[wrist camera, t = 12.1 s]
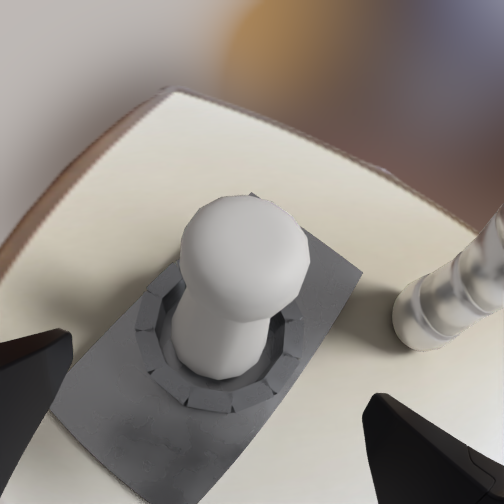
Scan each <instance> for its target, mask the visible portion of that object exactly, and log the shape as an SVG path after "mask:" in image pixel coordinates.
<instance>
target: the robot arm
mask: <svg viewBox="0 0 504 504" xmlns="http://www.w3.org/2000/svg"><path fill="white" fill-rule="evenodd" d="M72 360H73V346H72V335H71V333H70V332H69V331H66V330H63V329H60V328H57V329H53V330H49V331H45V332H42V333H38V334H34V335H30V336H26V337H22V338H18V339H14V340H10V341H6V342H2V343H0V497H1V495H2V493H3V491H4V489H5V487H6V485H7V483H8V481H9V479H10V477H11V475H12V473H13V471H14V469H15V467H16V466H17V464H18V462H19V460H20V458H21V456H22V454H23V453H24V451H25V449H26V447H27V445H28V444H29V442H30V440H31V438H32V437H33V435H34V433H35V431H36V430H37V428H38V426H39V424H40V423H41V421H42V419H43V418H44V416H45V414H46V413H47V411H48V409H49V408H50V406H51V404H52V403H53V401H54V399H55V397H56V395H57V393H58V390H59V388H60V386H61V384H62V382H63V380H64V378H65V376H66V374H67V371H68V369H69V367H70V365H71V363H72ZM362 423H363V429H364V436H365V443H366V451H367V457H368V462H369V466H370V470H371V475H372V479H373V483H374V487H375V491H376V496H377V500H378V504H504V466H503V465H501V464H499V463H497V462H495V461H493V460H492V459H490V458H488V457H486V456H484V455H482V454H481V453H479V452H477V451H476V450H474V449H472V448H471V447H469V446H467V445H466V444H464V443H463V442H461V441H459V440H458V439H456V438H455V437H453V436H451V435H450V434H448V433H447V432H445V431H444V430H442V429H440V428H439V427H437V426H436V425H434V424H433V423H431V422H429V421H428V420H426V419H425V418H423V417H422V416H420V415H419V414H417V413H416V412H414V411H413V410H411V409H410V408H408V407H407V406H405V405H404V404H402V403H401V402H399V401H398V400H396V399H395V398H393V397H392V396H390V395H389V394H386V393H375V394H374V395H373V396H372V397H371V399H370V401H369V403H368V405H367V407H366V408H365V410H364V412H363V415H362Z"/></svg>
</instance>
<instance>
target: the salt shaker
mask: <svg viewBox="0 0 504 504" xmlns="http://www.w3.org/2000/svg"><path fill="white" fill-rule="evenodd" d="M309 264H310V255H309V247H308V240H307V237H306V235H305V234H304V232H303V231H302V229H301V228H300V226H299V225H298V223H297V222H296V220H295V219H294V217H293V216H291V215H290V214H289V213H287V212H286V211H285V210H283V209H282V208H280V207H279V206H278V205H276V204H275V203H273V202H272V201H268V200H264V199H260V198H257V197H253V196H249V195H240V196H226V197H220V198H218V199H216V200H214V201H213V202H211V203H209V204H207V205H205V206H203V207H201V208H199V210H198V211H197V212H196V214H195V215H194V216H193V218H192V219H191V220H190V222H189V223H188V224H187V226H186V227H185V229H184V232H183V235H182V239H181V251H180V263H179V265H180V270H181V274H182V276H183V279H184V281H185V283H186V286H187V287H186V289H185V291H184V293H183V296H182V298H181V300H180V302H179V304H178V306H177V308H176V311H175V313H174V315H173V317H172V321H171V342H172V344H173V346H174V349H175V351H176V354H177V356H178V359H179V360H180V361H181V362H182V363H183V364H185V365H186V366H187V367H188V368H190V369H191V370H192V371H193V372H195V373H196V374H198V375H201V376H205V377H208V378H212V379H216V380H222V379H227V378H231V377H236V376H240V375H242V374H243V373H245V372H246V371H247V370H248V369H250V368H251V367H252V366H254V365H255V364H256V363H257V362H258V360H259V358H260V356H261V354H262V351H263V349H264V347H265V345H266V340H267V335H268V329H269V323H270V318H271V317H272V316H274V315H275V314H276V313H278V312H279V311H280V310H282V309H283V308H284V307H285V306H287V305H288V304H289V303H291V302H292V301H293V300H294V299H295V298H296V297H297V296H298V294H299V291H300V289H301V286H302V283H303V281H304V278H305V275H306V273H307V270H308V267H309Z"/></svg>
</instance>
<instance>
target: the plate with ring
mask: <svg viewBox="0 0 504 504" xmlns="http://www.w3.org/2000/svg"><path fill="white" fill-rule="evenodd" d="M249 196H253V197H257V198H259V197H258V196H256V195H255V194H253V193H252V192H251V193H250V194H249ZM260 199H261V198H260ZM300 228H301V229H302V231H303V232H304V234H305V235H306V237H307V240H308V247H309V255H310V264H309V267H308V270H307V273H306V275H305V278H304V281H303V283H302V286H301V289H300V291H299V294H298V296H297V297H296V298H295V299H294V300H293V301H292V302H291V303H289V304H288V305H287V306H285V307H284V308H283V309H282V310H280V311H279V312H278V313H276V314H275V315H274V316H272V317H271V318H270V323H269V329H268V335H267V340H266V345H265V347H264V349H263V351H262V354H261V356H260V358H259V360H258V362H257V363H256V364H255V365H254V366H252V367H251V368H250V369H248V370H247V371H246V372H245V373H243V374H242V375H240V376H236V377H231V378H227V379H222V380H216V379H212V378H208V377H205V376H201V375H198V374H196V373H195V372H193V371H192V370H191V369H190V368H188V367H187V366H186V365H185V364H183V363H182V362H181V361H180V360H179V359H178V356H177V354H176V351H175V349H174V346H173V344H172V342H171V321H172V317H173V315H174V313H175V311H176V308H177V306H178V304H179V302H180V300H181V298H182V296H183V293H184V291H185V289H186V287H187V286H186V283H185V281H184V279H183V276H182V274H181V270H180V265H179V263H180V259H179V260H176V263H175V264H174V263H173V262H172V263H171V264H170V265H169V266H168V267H167V268H166V269H165V270H164V271H163V272H162V273H161V274H160V275H159V276H158V277H157V278H156V279H155V280H154V281H153V282H152V283H151V284H150V285H149V286H148V287H147V288H146V289H147V291H146V292H144V293H143V295H142V296H141V297H140V298H139V299H138V300H137V301H136V302H135V303H134V304H133V305H132V306H131V307H130V308H129V309H128V310H127V311H126V312H125V313H124V314H123V315H122V316H121V317H120V318H119V319H118V320H117V321H116V322H115V323H114V324H113V325H112V326H111V327H110V328H109V329H108V331H107V332H106V333H105V334H104V335H103V336H102V337H101V338H100V339H99V340H98V341H97V342H96V343H95V344H94V345H93V346H92V347H91V348H90V349H89V350H88V351H87V352H86V353H85V355H84V356H83V357H82V358H81V359H80V360H79V361H78V362H77V363H76V364H75V365H74V366H73V367H72V368H71V369H70V371H69V372H68V373H67V374H66V376H65V378H64V380H63V382H62V384H61V386H60V388H59V390H58V393H57V395H56V397H55V399H54V401H53V403H52V404H51V406H50V408H49V409H50V410H51V411H52V412H53V414H54V415H55V416H56V417H57V418H58V419H59V420H60V422H61V423H62V424H63V425H64V426H65V427H66V428H67V429H68V430H69V431H70V432H71V433H72V435H73V436H74V437H75V438H76V439H77V440H78V441H79V442H80V443H81V444H82V445H83V446H84V447H85V448H86V449H87V450H88V451H89V452H90V453H91V454H92V455H93V456H94V457H96V458H97V459H98V460H99V461H100V462H101V463H102V464H103V465H104V466H105V467H106V468H108V469H109V470H110V471H111V472H112V473H113V474H114V475H116V476H117V477H118V478H119V479H120V480H121V481H123V482H124V483H125V484H126V485H128V486H129V487H130V488H131V489H133V490H134V491H135V492H136V493H138V494H139V495H140V496H142V497H143V498H144V499H145V500H147V501H148V502H150V503H151V504H197V503H198V502H199V501H200V500H201V499H202V498H203V497H204V496H205V495H206V494H207V492H208V491H209V490H210V489H211V488H212V487H213V486H214V485H215V484H216V482H217V481H218V480H219V479H220V478H221V477H222V476H223V474H224V473H225V472H226V471H227V470H228V469H229V467H230V466H231V465H232V464H233V463H234V462H235V460H236V459H237V458H238V457H239V455H240V454H241V453H242V452H243V451H244V449H245V448H246V447H247V446H248V444H249V443H250V442H251V441H252V439H253V438H254V437H255V436H256V434H257V433H258V432H259V430H260V429H261V428H262V427H263V425H264V424H265V423H266V421H267V420H268V419H269V417H270V416H271V415H272V413H273V412H274V411H275V409H276V408H277V407H278V405H279V404H280V403H281V401H282V400H283V398H284V397H285V396H286V394H287V393H288V391H289V390H290V389H291V387H292V386H293V384H294V383H295V381H296V380H297V379H298V377H299V376H300V374H301V373H302V371H303V370H304V368H305V367H306V365H307V364H308V362H309V361H310V359H311V358H312V356H313V355H314V353H315V352H316V350H317V349H318V347H319V346H320V344H321V342H322V341H323V339H324V338H325V336H326V335H327V333H328V331H329V330H330V328H331V327H332V325H333V323H334V322H335V320H336V318H337V317H338V315H339V314H340V312H341V310H342V309H343V307H344V305H345V303H346V302H347V300H348V298H349V297H350V295H351V293H352V291H353V290H354V288H355V286H356V284H357V283H358V281H359V279H360V277H361V276H362V274H363V272H362V271H360V270H359V269H358V268H357V267H355V266H354V265H353V264H351V263H350V262H349V261H347V260H346V259H345V258H343V257H342V256H340V255H339V254H338V253H336V252H335V251H334V250H332V249H331V248H330V247H328V246H327V245H326V244H324V243H323V242H321V241H320V240H319V239H317V238H316V237H315V236H313V235H312V234H310V233H309V232H308V231H306V230H305V229H303V228H302V227H301V226H300Z"/></svg>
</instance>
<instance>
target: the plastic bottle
mask: <svg viewBox="0 0 504 504" xmlns="http://www.w3.org/2000/svg"><path fill="white" fill-rule="evenodd" d="M503 308H504V204H503V205H502V206H501V207H500V208H499V210H498V211H497V212H496V213H495V215H494V216H493V217H492V219H491V220H490V221H489V222H488V224H487V225H486V226H485V227H484V229H483V230H482V231H481V232H480V234H479V235H478V236H477V237H476V238H475V239H474V240H473V241H472V242H471V243H470V244H469V245H468V246H467V247H466V248H465V249H464V250H463V251H462V252H460V253H459V254H458V255H457V256H456V257H455V258H454V259H453V260H451V261H450V262H448V263H447V264H445V265H444V266H442V267H440V268H439V269H437V270H436V271H434V272H433V273H431V274H428V275H425V276H423V277H421V278H419V279H417V280H415V281H413V282H412V283H410V284H408V285H407V286H406V287H405V288H404V290H403V291H402V292H401V293H400V294H399V295H398V297H397V299H396V300H395V303H394V306H393V313H392V322H393V327H394V330H395V332H396V334H397V336H398V338H399V339H400V340H401V341H402V342H403V343H404V344H405V345H407V346H408V347H410V348H412V349H413V350H416V351H422V352H425V351H430V350H435V349H439V348H441V347H443V346H445V345H446V344H448V343H449V342H451V341H452V340H454V339H455V338H456V337H457V336H458V335H459V334H460V333H462V332H463V331H465V330H466V329H468V328H469V327H471V326H473V325H474V324H476V323H477V322H479V321H480V320H482V319H483V318H484V317H487V316H489V315H491V314H493V313H494V312H497V311H499V310H501V309H503Z"/></svg>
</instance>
